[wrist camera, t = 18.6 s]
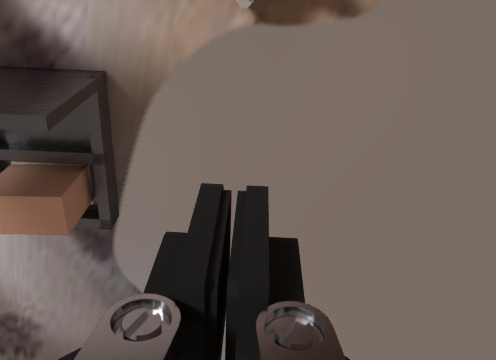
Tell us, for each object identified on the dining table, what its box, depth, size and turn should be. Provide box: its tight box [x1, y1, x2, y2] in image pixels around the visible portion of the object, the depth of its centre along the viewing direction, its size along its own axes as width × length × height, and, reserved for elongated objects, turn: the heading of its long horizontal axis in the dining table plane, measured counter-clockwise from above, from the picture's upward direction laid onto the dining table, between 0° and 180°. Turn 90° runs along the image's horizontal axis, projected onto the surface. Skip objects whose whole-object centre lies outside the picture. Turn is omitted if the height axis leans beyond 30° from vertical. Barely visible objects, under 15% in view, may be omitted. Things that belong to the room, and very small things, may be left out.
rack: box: [0, 67, 119, 229], centre depth 37 cm, size 11×14×12 cm
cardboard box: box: [0, 165, 93, 235], centre depth 40 cm, size 7×4×6 cm, turn 90°
